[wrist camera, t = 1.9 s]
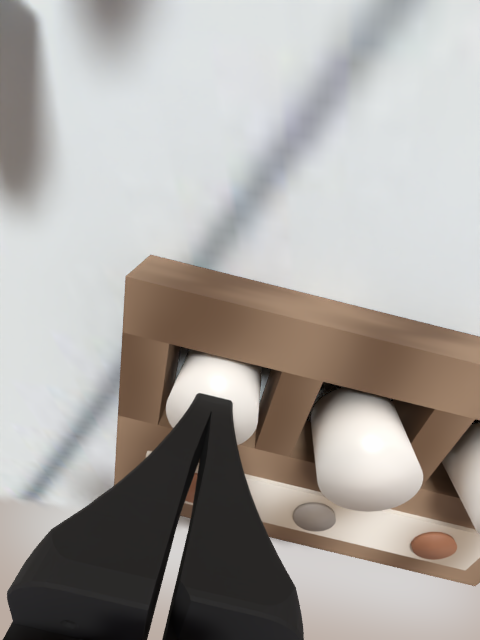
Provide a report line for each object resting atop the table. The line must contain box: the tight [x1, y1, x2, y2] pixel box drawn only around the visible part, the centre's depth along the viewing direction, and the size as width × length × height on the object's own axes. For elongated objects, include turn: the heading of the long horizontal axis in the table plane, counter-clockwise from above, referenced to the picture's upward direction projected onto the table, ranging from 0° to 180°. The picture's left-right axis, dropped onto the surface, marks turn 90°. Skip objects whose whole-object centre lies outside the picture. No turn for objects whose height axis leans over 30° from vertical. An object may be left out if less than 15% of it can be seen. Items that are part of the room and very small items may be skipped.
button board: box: [114, 255, 480, 586], centre depth 16 cm, size 20×13×3 cm, turn 77°
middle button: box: [311, 387, 423, 512], centre depth 13 cm, size 4×4×3 cm
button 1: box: [166, 349, 262, 445], centre depth 14 cm, size 4×4×3 cm
